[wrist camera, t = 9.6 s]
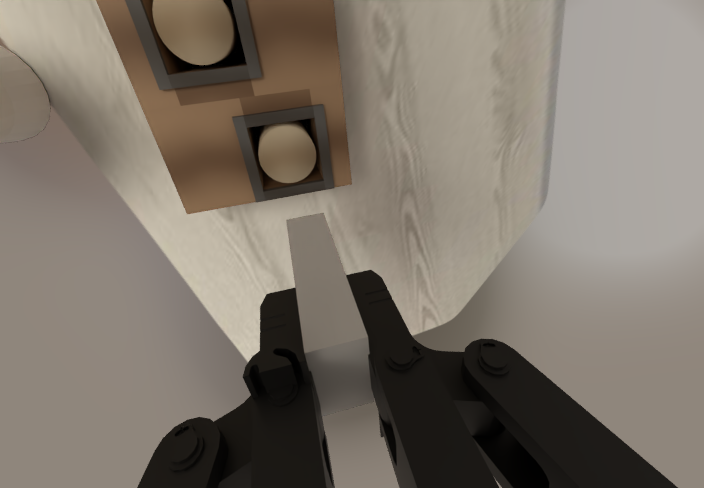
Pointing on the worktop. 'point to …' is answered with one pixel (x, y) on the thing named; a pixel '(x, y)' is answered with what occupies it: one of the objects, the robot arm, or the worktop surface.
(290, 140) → the dowel
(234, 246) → the worktop surface
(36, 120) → the cup
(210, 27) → the dowel
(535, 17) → the worktop surface
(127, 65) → the walnut block
